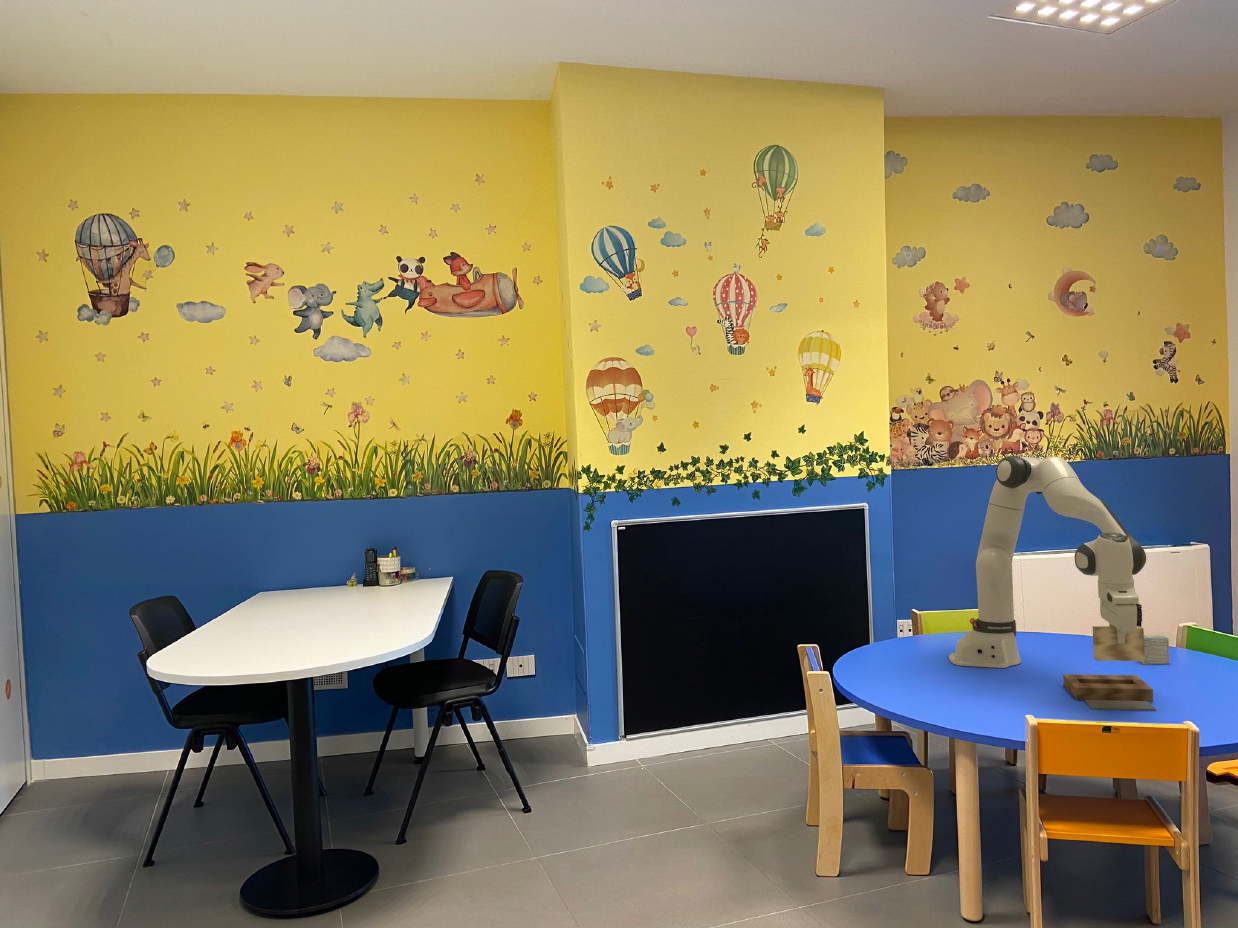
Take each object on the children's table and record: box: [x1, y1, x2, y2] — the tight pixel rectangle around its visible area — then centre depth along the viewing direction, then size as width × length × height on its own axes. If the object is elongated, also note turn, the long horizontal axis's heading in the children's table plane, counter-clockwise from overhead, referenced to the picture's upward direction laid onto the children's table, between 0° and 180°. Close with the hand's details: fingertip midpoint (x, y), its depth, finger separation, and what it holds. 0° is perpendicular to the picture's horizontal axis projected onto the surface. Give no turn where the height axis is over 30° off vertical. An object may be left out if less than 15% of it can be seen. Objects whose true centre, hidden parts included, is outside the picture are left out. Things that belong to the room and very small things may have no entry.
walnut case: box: [1062, 673, 1154, 702], centre depth 258 cm, size 20×14×4 cm
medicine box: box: [1137, 634, 1170, 665], centre depth 287 cm, size 8×4×9 cm, turn 84°
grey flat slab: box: [1084, 700, 1157, 712], centre depth 247 cm, size 16×7×1 cm, turn 76°
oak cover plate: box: [1092, 625, 1145, 662], centre depth 246 cm, size 12×3×9 cm, turn 76°
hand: (1118, 641), depth 246 cm, fingers closed on oak cover plate, 3 cm apart
